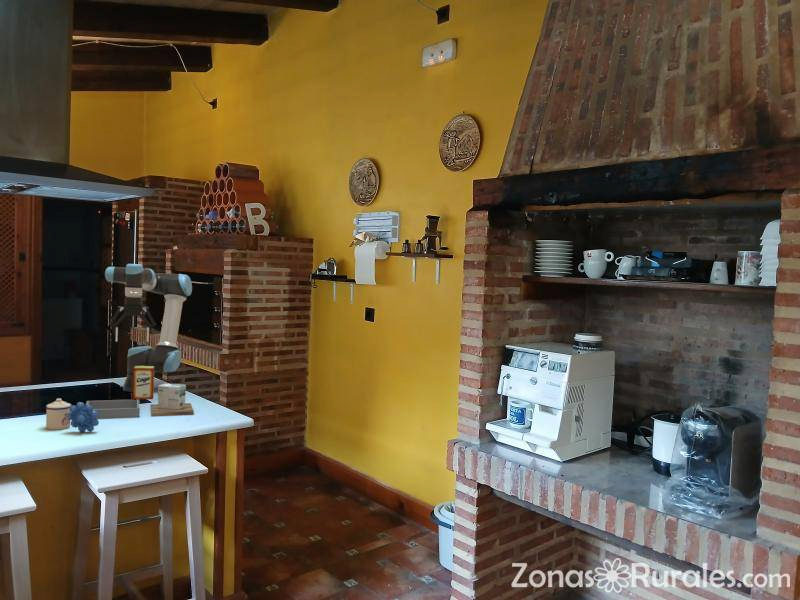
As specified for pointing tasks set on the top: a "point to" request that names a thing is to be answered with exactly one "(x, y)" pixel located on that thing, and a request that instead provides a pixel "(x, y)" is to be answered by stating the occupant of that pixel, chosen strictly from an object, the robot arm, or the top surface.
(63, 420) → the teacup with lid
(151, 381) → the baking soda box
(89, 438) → the top surface
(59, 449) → the top surface
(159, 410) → the walnut board
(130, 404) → the grey bin
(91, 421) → the grapes
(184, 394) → the light bulb box
